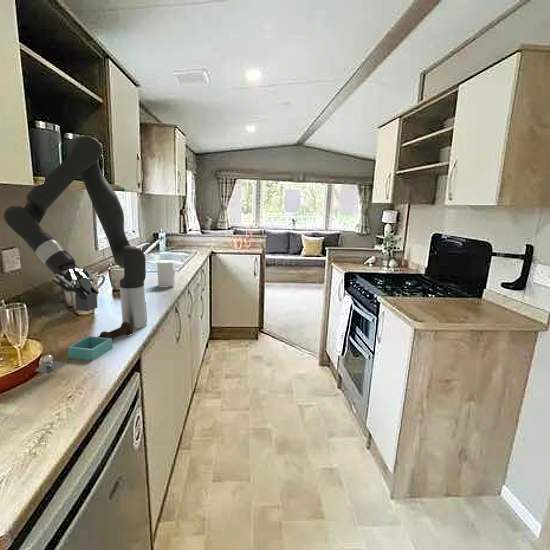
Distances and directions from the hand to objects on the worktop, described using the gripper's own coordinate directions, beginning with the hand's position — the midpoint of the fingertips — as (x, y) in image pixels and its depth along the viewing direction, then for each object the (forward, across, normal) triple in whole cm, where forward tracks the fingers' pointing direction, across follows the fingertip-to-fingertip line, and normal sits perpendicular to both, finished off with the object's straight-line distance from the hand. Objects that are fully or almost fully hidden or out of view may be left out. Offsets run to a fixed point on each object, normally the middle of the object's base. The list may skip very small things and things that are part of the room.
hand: (91, 296), depth 119 cm
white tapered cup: (-3, +97, +33) cm, 103 cm away
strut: (+2, 0, +4) cm, 5 cm away
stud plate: (+10, -12, +20) cm, 26 cm away
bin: (+14, 0, +16) cm, 21 cm away
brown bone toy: (+12, +15, +18) cm, 26 cm away
